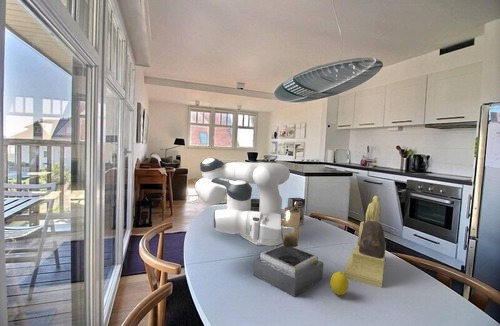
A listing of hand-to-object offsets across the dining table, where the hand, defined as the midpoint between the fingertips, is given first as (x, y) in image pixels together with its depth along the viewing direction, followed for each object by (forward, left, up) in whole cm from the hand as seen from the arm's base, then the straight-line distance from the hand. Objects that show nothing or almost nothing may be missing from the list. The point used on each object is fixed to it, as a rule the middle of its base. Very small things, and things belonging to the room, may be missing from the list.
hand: (293, 226), depth 94 cm
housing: (-1, -1, -19) cm, 19 cm away
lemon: (+17, +2, -19) cm, 26 cm away
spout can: (-1, -1, -7) cm, 7 cm away
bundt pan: (-63, +47, -19) cm, 81 cm away
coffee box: (-37, +56, -19) cm, 70 cm away
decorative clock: (+16, +31, -19) cm, 40 cm away
